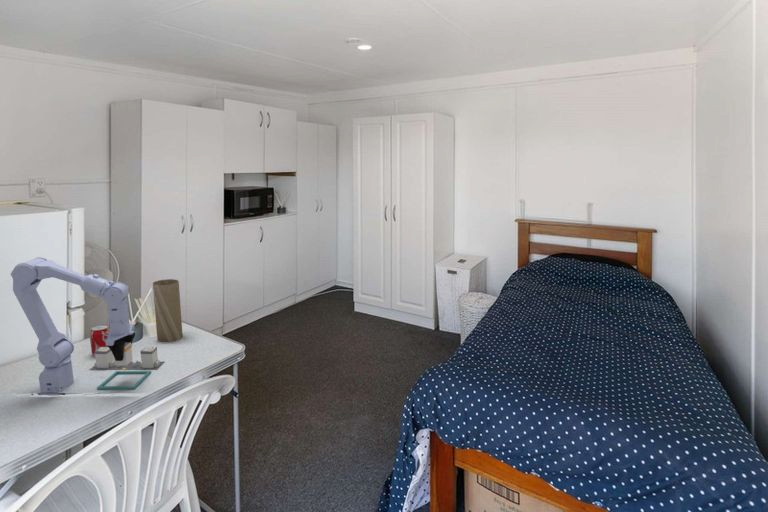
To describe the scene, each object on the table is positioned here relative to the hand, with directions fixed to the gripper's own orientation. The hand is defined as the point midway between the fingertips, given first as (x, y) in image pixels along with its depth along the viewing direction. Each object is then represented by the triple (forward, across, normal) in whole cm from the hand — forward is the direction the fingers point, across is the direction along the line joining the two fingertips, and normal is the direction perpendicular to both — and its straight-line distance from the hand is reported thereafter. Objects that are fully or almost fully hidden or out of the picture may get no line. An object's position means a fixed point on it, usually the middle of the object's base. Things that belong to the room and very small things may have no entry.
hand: (122, 357), depth 153 cm
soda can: (+10, +23, +20) cm, 32 cm away
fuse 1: (+9, +12, +13) cm, 20 cm away
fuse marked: (+2, 0, 0) cm, 2 cm away
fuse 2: (+9, +12, -3) cm, 15 cm away
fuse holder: (+10, +12, +5) cm, 16 cm away
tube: (+10, +42, +2) cm, 43 cm away
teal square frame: (+10, 0, 0) cm, 10 cm away
